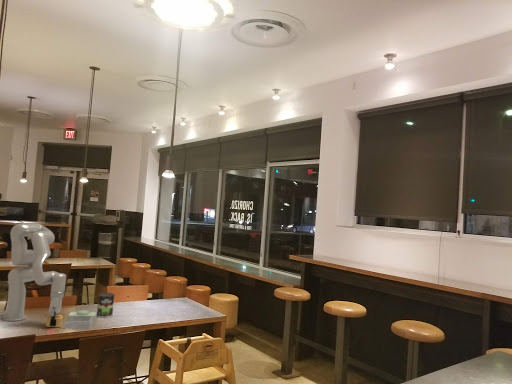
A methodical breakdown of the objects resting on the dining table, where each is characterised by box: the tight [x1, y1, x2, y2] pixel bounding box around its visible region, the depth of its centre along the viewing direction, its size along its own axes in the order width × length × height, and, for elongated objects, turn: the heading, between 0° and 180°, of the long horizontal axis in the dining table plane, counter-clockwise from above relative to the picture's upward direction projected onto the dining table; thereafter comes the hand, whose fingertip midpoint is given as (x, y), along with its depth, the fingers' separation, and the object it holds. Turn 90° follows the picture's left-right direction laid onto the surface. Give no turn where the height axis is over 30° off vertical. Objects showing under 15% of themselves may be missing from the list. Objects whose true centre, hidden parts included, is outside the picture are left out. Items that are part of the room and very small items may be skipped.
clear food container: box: [66, 309, 98, 322], centre depth 258 cm, size 16×9×5 cm, turn 103°
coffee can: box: [96, 292, 115, 318], centre depth 272 cm, size 10×10×14 cm
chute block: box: [45, 313, 64, 328], centre depth 241 cm, size 8×5×6 cm, turn 103°
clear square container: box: [64, 315, 94, 330], centre depth 247 cm, size 14×14×4 cm
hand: (54, 324), depth 241 cm, fingers closed on chute block, 5 cm apart
